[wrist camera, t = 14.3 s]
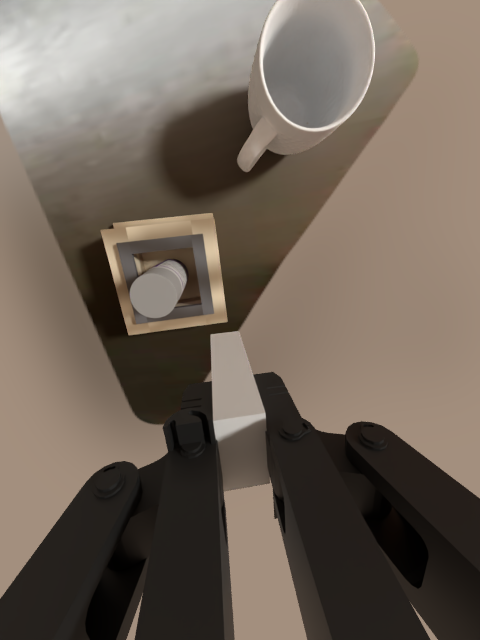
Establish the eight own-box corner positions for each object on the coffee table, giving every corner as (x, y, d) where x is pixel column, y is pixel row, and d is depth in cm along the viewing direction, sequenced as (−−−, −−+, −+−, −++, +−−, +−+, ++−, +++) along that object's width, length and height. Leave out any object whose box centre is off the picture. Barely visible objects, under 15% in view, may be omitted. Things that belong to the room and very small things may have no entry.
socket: (115, 223, 37) (95, 221, 30) (212, 213, 38) (213, 208, 31) (140, 327, 42) (128, 344, 35) (225, 315, 43) (228, 330, 36)
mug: (263, 205, 38) (289, 191, 26) (205, 148, 35) (203, 100, 23) (333, 119, 36) (399, 57, 24) (278, 48, 33) (320, -65, 20)
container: (163, 293, 40) (139, 325, 25) (152, 263, 38) (119, 280, 24) (193, 284, 40) (184, 311, 26) (182, 254, 38) (168, 265, 24)
